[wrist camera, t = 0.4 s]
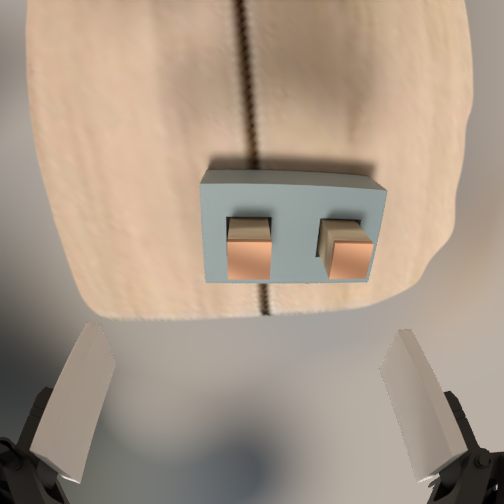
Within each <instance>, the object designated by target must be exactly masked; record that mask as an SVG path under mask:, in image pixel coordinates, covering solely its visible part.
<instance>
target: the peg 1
mask: <svg viewBox="0 0 504 504" xmlns="http://www.w3.org/2000/svg"><path fill="white" fill-rule="evenodd" d="M271 249H272V240H271V236H270V229H269V223H268V217H230V223H229V231H228V239H227V263H228V279H255V280H270V267H271Z"/></svg>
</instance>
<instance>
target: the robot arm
mask: <svg viewBox="0 0 504 504" xmlns="http://www.w3.org/2000/svg"><path fill="white" fill-rule="evenodd" d="M115 367H116V362H115V360H114V357H113V355H112V352H111V350H110V347H109V344H108V342H107V339H106V336H105V334H104V331H103V328H102V325H101V324H96V323H88V322H87V323H86V325H85V326H84V328H83V330H82V332H81V334H80V336H79V338H78V340H77V341H76V343H75V345H74V347H73V349H72V351H71V353H70V356H69V358H68V360H67V362H66V364H65V366H64V368H63V370H62V372H61V374H60V376H59V379H58V381H57V383H56V385H55V387H54V389H52V388H48V387H45V388H44V389H43V390H42V391H41V392H40V393H39V394H38V395H37V397H36V399H35V402H34V404H33V407H32V409H31V411H30V415H29V416H28V418H27V420H26V423H25V425H24V428H23V430H22V433H21V435H20V438H19V441H18V443H17V445H15V444H14V443H13V442H12V441H11V440H10V439H8V438H5V437H1V438H0V504H69V502H68V500H67V498H66V496H65V493H64V491H63V490H62V487H61V485H60V483H59V481H58V480H57V474H60V475H61V476H62V477H64V478H66V479H69V480H71V481H74V482H77V483H80V482H81V477H82V474H83V470H84V466H85V462H86V458H87V454H88V451H89V448H90V444H91V440H92V437H93V434H94V430H95V427H96V424H97V420H98V417H99V414H100V411H101V408H102V405H103V401H104V398H105V395H106V392H107V389H108V387H109V384H110V380H111V378H112V375H113V372H114V369H115ZM379 370H380V373H381V375H382V378H383V381H384V383H385V386H386V389H387V392H388V394H389V397H390V400H391V403H392V406H393V409H394V412H395V414H396V417H397V420H398V423H399V426H400V429H401V433H402V436H403V439H404V442H405V445H406V448H407V451H408V455H409V458H410V461H411V465H412V468H413V472H414V475H415V479H416V482H421V481H423V480H426V479H429V478H432V477H433V476H434V475H436V474H437V473H439V475H440V477H438V478H437V479H435V480H434V481H432V482H431V483H430V484H429V486H428V487H431V486H433V485H435V486H434V487H433V491H432V493H431V496H430V498H429V500H428V502H427V504H504V452H494V453H490V452H489V451H488V450H486V449H485V448H480V447H479V445H478V443H477V441H476V439H475V436H474V434H473V432H472V429H471V427H470V425H469V422H468V420H467V418H465V413H464V411H463V410H462V407H461V405H460V403H459V401H458V398H457V397H456V396H455V395H454V394H453V393H452V392H451V391H448V392H443V391H442V389H441V386H440V384H439V382H438V380H437V378H436V376H435V374H434V372H433V370H432V368H431V366H430V364H429V362H428V360H427V358H426V356H425V355H424V352H423V350H422V348H421V347H420V345H419V343H418V341H417V339H416V337H415V335H414V333H413V332H412V330H411V329H404V330H397V332H396V334H395V337H394V339H393V341H392V343H391V345H390V347H389V350H388V351H387V354H386V356H385V357H384V359H383V361H382V364H381V365H380V367H379ZM497 484H498V488H497V490H496V485H497Z"/></svg>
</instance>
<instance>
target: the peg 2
mask: <svg viewBox="0 0 504 504" xmlns="http://www.w3.org/2000/svg"><path fill="white" fill-rule="evenodd" d="M373 246H374V243H373V242H372V241H371V240H370V238H369V237H368V236H367V234H366V233H365V232H364V231H363V229H362V228H361V227H360V225H359V224H358V223H357V222H356V220H355V219H330V218H321V225H320V233H319V241H318V248H317V250H318V253H319V255H320V258H321V260H322V262H323V265H324V267H325V270H326V272H327V275H328V278H329V279H366V276H367V272H368V268H369V263H370V259H371V255H372V250H373Z"/></svg>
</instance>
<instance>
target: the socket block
mask: <svg viewBox="0 0 504 504" xmlns="http://www.w3.org/2000/svg"><path fill="white" fill-rule="evenodd" d="M386 195H387V190H386V189H385V188H383V187H382V186H381V185H379V184H378V183H377V182H375V181H374V180H373V179H371V178H370V177H369V176H363V175H352V174H339V173H324V172H305V171H281V170H207V171H206V173H205V175H204V177H203V179H202V181H201V183H200V199H201V219H202V237H203V253H204V267H205V280H206V283H354V282H368V279H369V275H370V271H371V267H372V263H373V259H374V254H375V250H376V246H377V241H378V237H379V232H380V227H381V222H382V217H383V212H384V206H385V201H386ZM229 217H268V223H269V229H270V236H271V240H272V249H271V267H270V280H255V279H228V263H227V239H228V231H229ZM320 218H330V219H355V220H356V222H357V223H358V224H359V225H360V227H361V228H362V229H363V231H364V232H365V233H366V234H367V236H368V237H369V238H370V240H371V241H372V242H373V243H374V246H373V250H372V255H371V259H370V263H369V268H368V272H367V276H366V279H329V278H328V275H327V272H326V270H325V267H324V265H323V262H322V260H321V258H320V255H319V253H318V250H317V248H318V241H319V234H318V233H319V225H320Z"/></svg>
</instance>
